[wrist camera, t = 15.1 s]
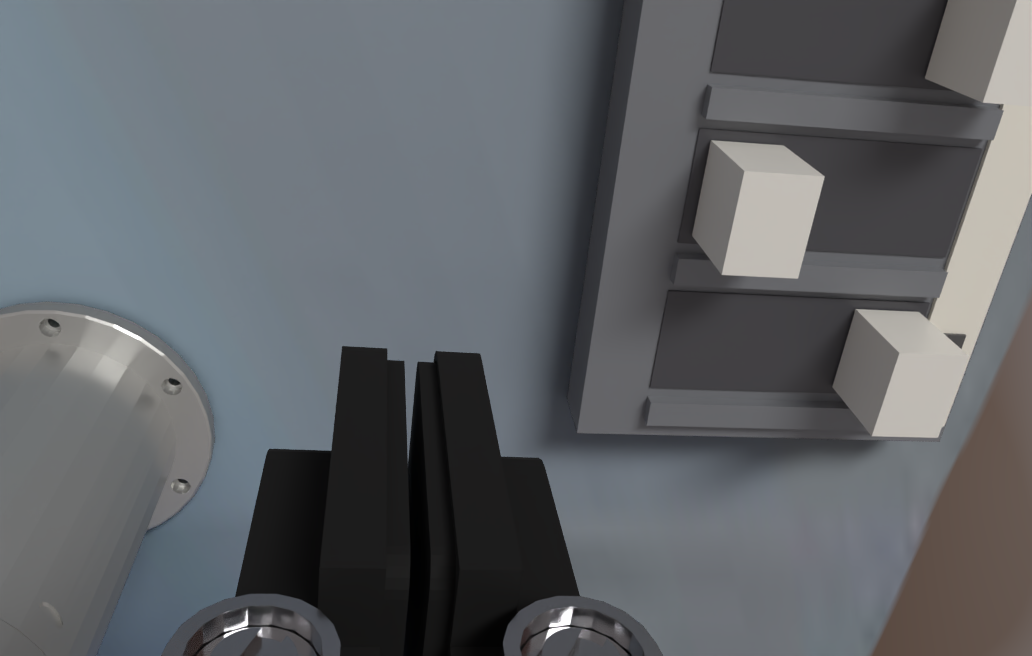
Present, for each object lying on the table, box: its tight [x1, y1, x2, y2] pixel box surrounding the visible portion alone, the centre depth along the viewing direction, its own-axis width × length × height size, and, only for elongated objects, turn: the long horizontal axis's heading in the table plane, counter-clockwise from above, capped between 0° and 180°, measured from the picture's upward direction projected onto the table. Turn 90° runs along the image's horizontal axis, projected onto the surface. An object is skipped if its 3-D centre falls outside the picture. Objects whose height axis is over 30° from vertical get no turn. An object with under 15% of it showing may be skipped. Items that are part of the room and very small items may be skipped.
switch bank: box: [567, 0, 1032, 442], centre depth 38 cm, size 24×18×4 cm
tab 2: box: [925, 0, 1032, 107], centre depth 32 cm, size 4×3×4 cm
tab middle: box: [692, 140, 825, 279], centre depth 34 cm, size 4×3×4 cm
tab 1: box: [832, 309, 968, 438], centre depth 38 cm, size 4×3×4 cm
